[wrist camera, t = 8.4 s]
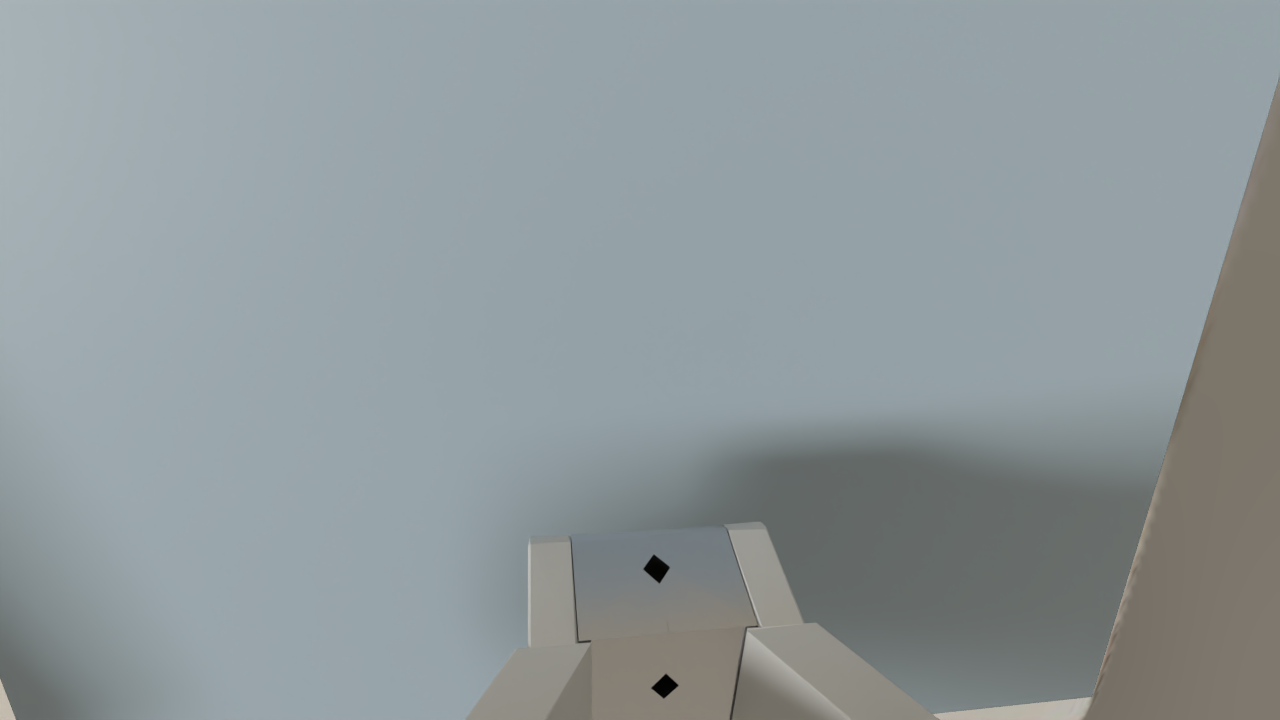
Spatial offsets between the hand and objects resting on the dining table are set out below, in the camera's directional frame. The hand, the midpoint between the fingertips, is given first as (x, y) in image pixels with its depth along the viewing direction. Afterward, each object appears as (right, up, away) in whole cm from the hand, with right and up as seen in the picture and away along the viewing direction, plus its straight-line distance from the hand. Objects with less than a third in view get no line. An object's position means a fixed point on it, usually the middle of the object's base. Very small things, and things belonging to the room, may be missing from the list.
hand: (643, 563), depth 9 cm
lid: (-1, +2, +4) cm, 4 cm away
